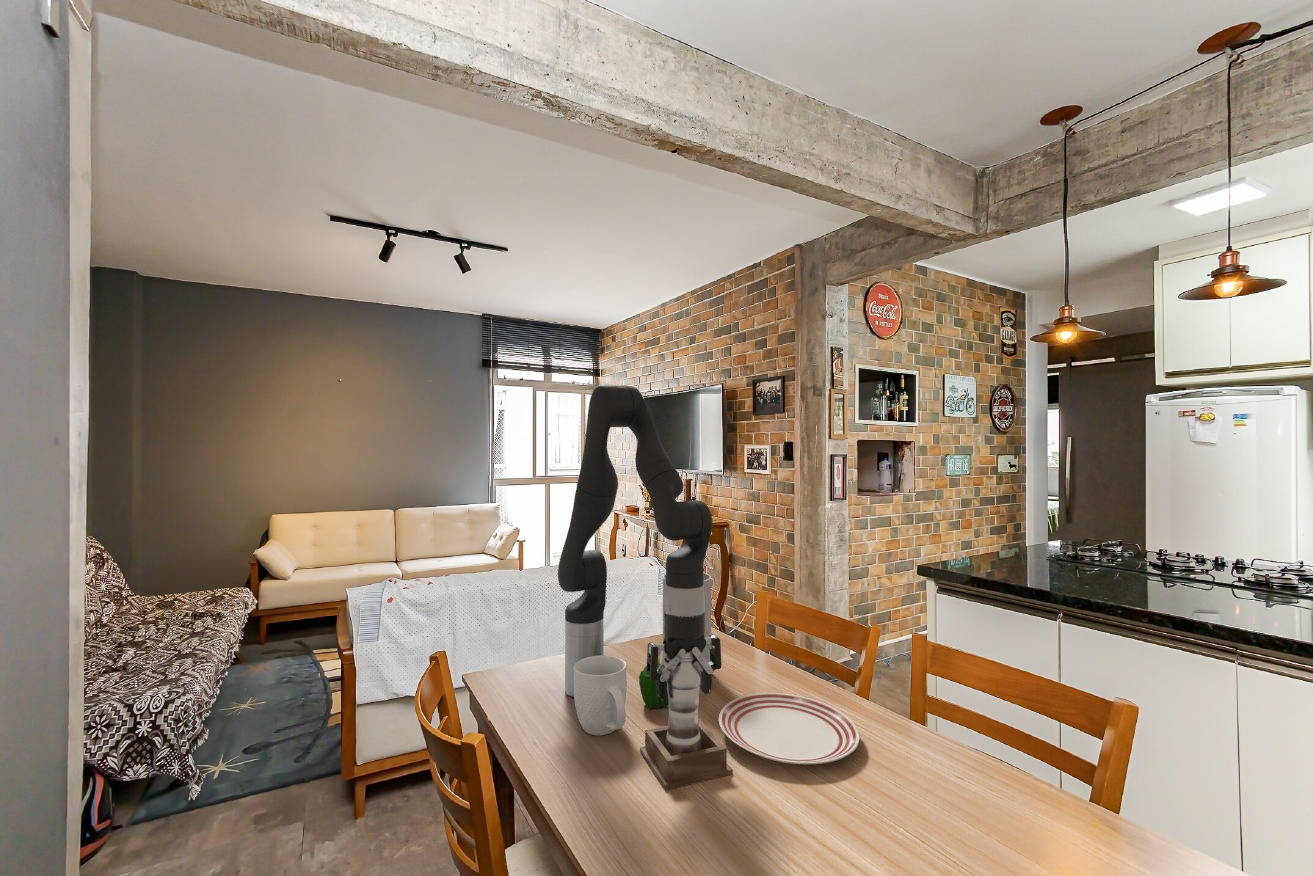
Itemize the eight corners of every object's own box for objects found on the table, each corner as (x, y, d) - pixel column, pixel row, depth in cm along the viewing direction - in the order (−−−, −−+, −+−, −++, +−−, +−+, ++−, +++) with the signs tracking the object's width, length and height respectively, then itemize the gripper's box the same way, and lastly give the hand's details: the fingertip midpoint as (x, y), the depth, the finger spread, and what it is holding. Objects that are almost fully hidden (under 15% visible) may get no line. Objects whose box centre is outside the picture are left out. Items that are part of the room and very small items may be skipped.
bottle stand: (639, 751, 108) (639, 729, 108) (701, 738, 112) (701, 717, 112) (665, 790, 96) (665, 764, 96) (732, 774, 100) (732, 749, 100)
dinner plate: (882, 736, 114) (882, 719, 114) (818, 798, 94) (818, 778, 94) (765, 695, 132) (765, 681, 133) (691, 739, 112) (691, 723, 112)
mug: (646, 740, 112) (646, 674, 112) (597, 756, 106) (597, 687, 106) (610, 710, 124) (610, 651, 125) (564, 724, 118) (564, 662, 119)
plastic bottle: (664, 748, 107) (664, 643, 108) (700, 748, 107) (699, 643, 108) (665, 767, 101) (665, 655, 101) (703, 767, 101) (702, 655, 101)
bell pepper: (669, 715, 122) (669, 668, 123) (634, 709, 125) (634, 664, 125) (680, 698, 130) (680, 655, 131) (647, 693, 133) (647, 651, 133)
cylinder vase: (713, 684, 138) (713, 582, 139) (662, 684, 138) (662, 582, 139) (709, 664, 151) (709, 571, 151) (662, 664, 151) (662, 571, 151)
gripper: (709, 599, 110) (709, 682, 110) (641, 607, 105) (641, 693, 105) (728, 610, 103) (728, 698, 103) (656, 618, 98) (655, 711, 98)
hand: (684, 696), depth 104 cm, fingers open, 8 cm apart
